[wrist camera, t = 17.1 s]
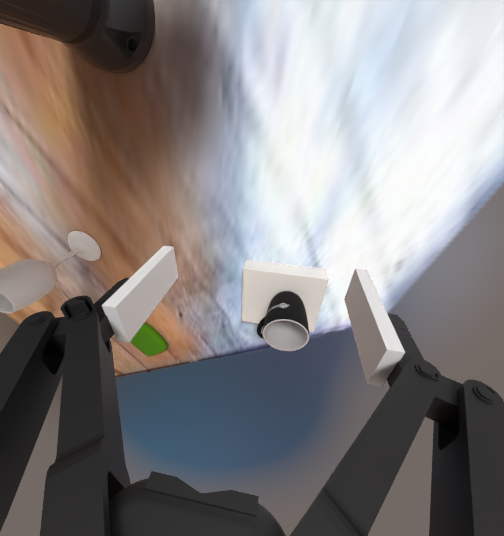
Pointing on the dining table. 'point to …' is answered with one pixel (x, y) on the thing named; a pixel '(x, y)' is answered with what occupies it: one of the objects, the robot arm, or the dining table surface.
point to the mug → (285, 322)
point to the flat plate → (281, 288)
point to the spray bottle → (149, 340)
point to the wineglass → (39, 274)
